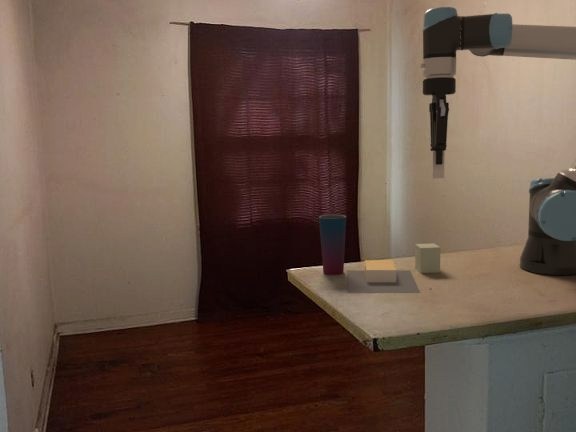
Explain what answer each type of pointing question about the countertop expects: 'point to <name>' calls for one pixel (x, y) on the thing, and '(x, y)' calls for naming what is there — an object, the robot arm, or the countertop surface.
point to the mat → (381, 283)
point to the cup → (333, 243)
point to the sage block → (427, 258)
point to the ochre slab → (380, 271)
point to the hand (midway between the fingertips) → (437, 177)
